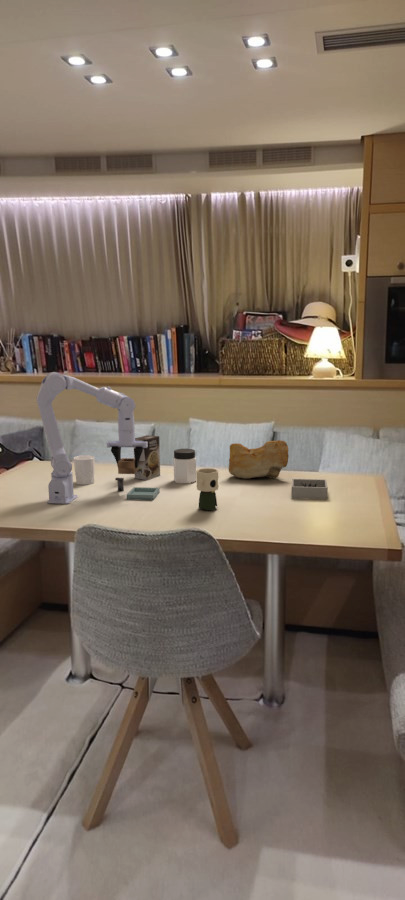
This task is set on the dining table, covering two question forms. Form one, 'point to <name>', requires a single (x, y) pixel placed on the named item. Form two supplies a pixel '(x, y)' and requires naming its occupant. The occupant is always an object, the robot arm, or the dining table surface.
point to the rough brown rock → (258, 460)
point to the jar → (184, 466)
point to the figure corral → (309, 489)
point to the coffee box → (149, 458)
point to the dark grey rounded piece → (120, 484)
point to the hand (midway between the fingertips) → (128, 467)
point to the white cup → (84, 469)
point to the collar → (127, 466)
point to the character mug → (207, 487)
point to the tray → (143, 493)
